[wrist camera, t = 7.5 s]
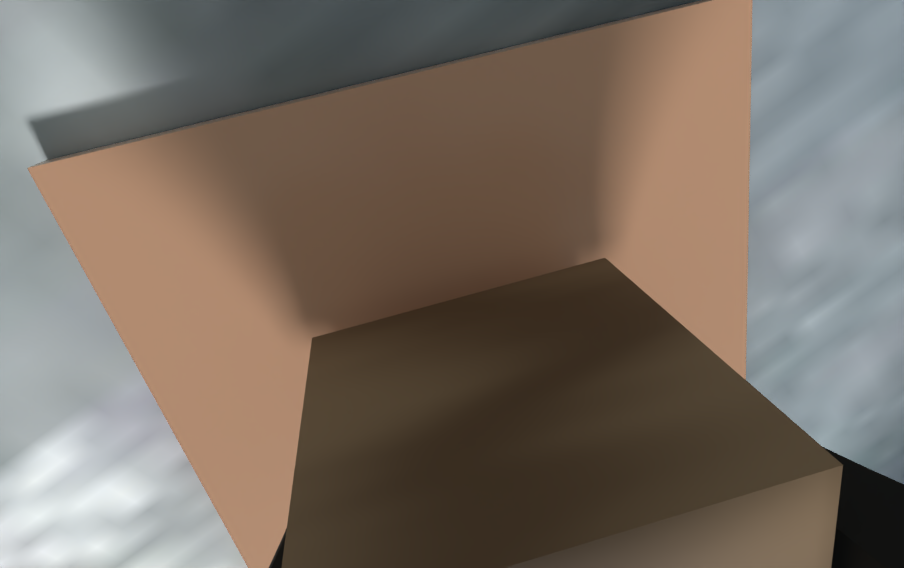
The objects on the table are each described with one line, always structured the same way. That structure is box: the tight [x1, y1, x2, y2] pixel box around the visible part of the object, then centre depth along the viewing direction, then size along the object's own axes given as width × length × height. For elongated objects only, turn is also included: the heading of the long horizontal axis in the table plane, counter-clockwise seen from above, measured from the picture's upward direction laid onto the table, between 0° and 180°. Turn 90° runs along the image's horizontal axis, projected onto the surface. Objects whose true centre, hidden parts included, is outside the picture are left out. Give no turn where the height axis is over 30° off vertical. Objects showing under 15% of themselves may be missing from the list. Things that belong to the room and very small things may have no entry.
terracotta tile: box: [27, 0, 752, 568], centre depth 12 cm, size 12×12×1 cm
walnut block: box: [282, 258, 843, 568], centre depth 8 cm, size 5×5×5 cm
